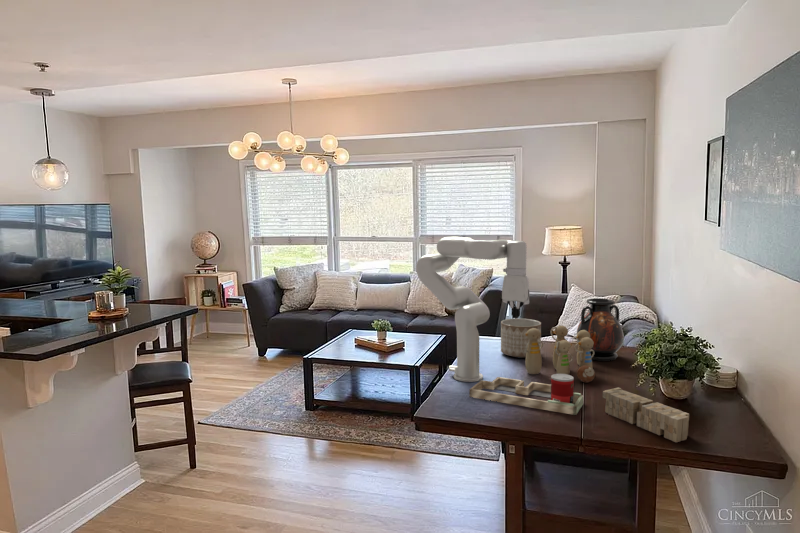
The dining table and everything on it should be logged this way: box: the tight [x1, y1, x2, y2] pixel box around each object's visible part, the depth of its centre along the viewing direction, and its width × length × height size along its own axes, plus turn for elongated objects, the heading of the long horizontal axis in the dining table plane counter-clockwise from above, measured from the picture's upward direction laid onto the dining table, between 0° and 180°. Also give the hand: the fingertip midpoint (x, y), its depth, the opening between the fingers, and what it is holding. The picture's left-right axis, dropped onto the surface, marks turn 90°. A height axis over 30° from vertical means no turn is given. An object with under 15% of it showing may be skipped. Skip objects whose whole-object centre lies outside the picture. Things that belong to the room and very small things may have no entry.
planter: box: [500, 318, 542, 359], centre depth 265 cm, size 19×19×16 cm
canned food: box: [550, 373, 575, 404], centre depth 195 cm, size 8×8×11 cm
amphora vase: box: [575, 297, 625, 362], centre depth 258 cm, size 22×22×28 cm
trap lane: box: [468, 376, 585, 416], centre depth 205 cm, size 40×20×4 cm, turn 60°
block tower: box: [602, 387, 690, 443], centre depth 178 cm, size 8×8×29 cm
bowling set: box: [524, 325, 596, 384], centre depth 232 cm, size 38×26×20 cm
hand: (515, 317), depth 213 cm, fingers closed
